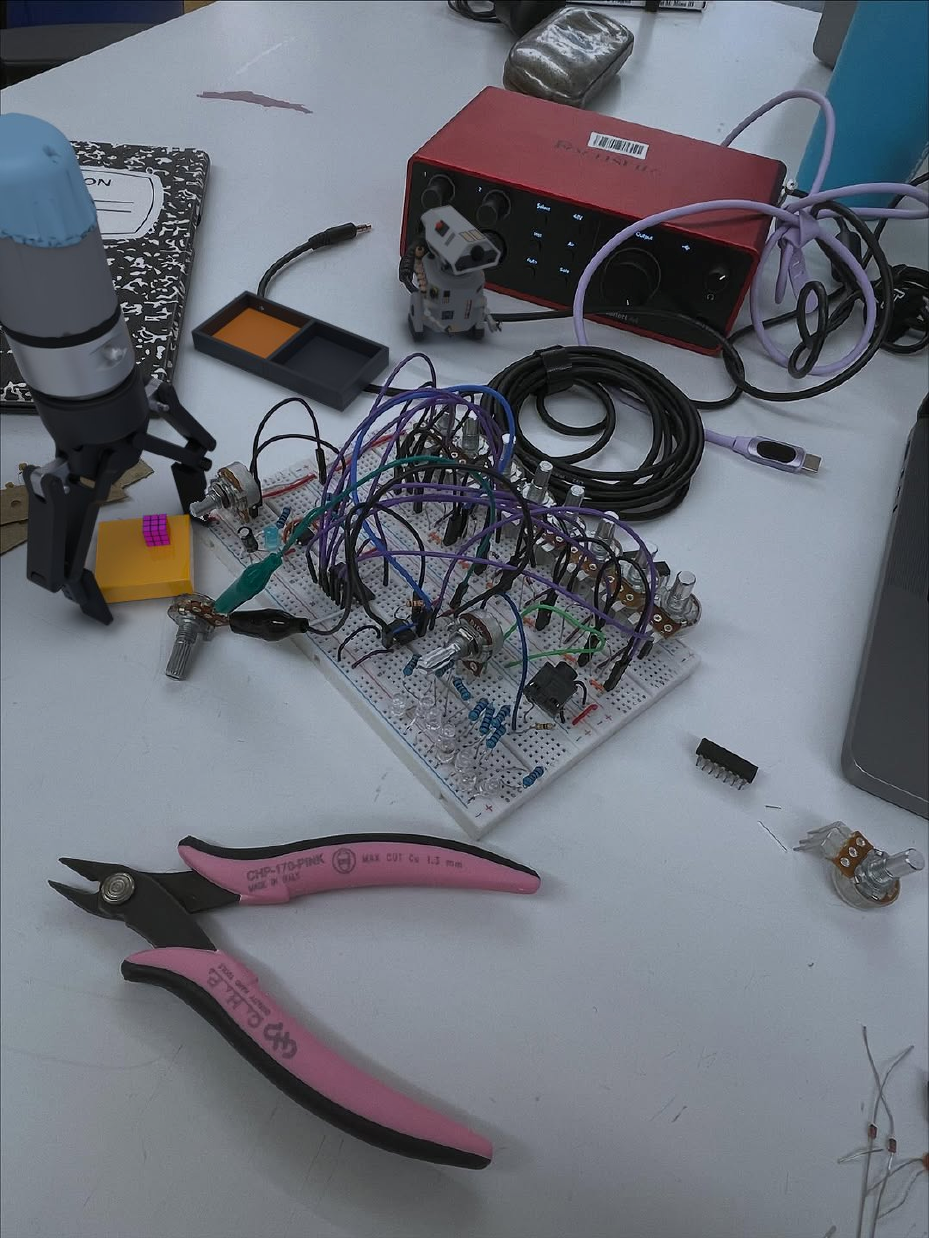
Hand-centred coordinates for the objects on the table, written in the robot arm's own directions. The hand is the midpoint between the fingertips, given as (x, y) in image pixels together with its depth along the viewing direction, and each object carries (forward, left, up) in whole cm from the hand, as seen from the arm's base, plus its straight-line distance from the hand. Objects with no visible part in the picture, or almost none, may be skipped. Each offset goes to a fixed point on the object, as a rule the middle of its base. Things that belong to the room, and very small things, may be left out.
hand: (151, 565), depth 73 cm
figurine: (+7, +47, 0) cm, 47 cm away
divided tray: (-7, +33, 0) cm, 34 cm away
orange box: (0, 0, 0) cm, 0 cm away
